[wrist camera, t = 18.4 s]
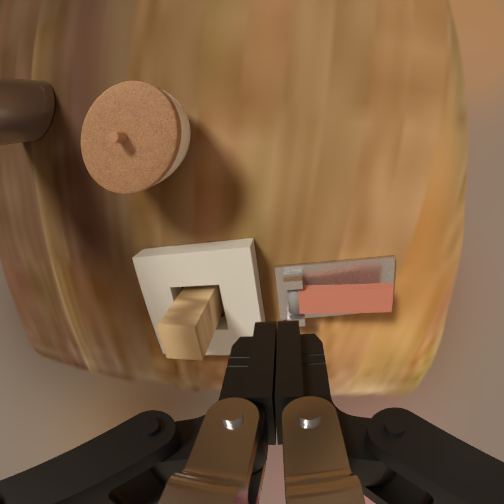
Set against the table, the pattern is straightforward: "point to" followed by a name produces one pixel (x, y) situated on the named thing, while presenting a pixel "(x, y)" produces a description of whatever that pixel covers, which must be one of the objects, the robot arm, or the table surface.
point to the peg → (191, 322)
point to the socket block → (205, 273)
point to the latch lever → (341, 299)
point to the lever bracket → (330, 278)
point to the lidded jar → (134, 137)
